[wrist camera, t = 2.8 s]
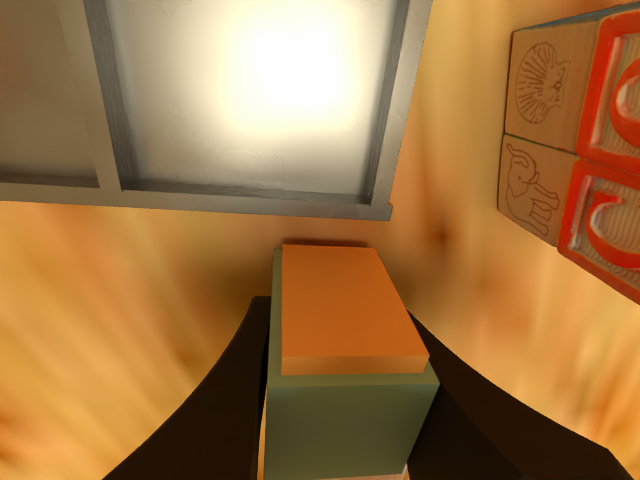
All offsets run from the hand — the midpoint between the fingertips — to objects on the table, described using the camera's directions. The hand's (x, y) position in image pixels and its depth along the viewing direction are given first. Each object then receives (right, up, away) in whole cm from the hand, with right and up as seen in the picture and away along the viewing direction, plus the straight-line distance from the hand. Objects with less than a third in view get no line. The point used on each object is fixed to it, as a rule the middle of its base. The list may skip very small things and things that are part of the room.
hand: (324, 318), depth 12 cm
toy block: (0, +1, +1) cm, 2 cm away
